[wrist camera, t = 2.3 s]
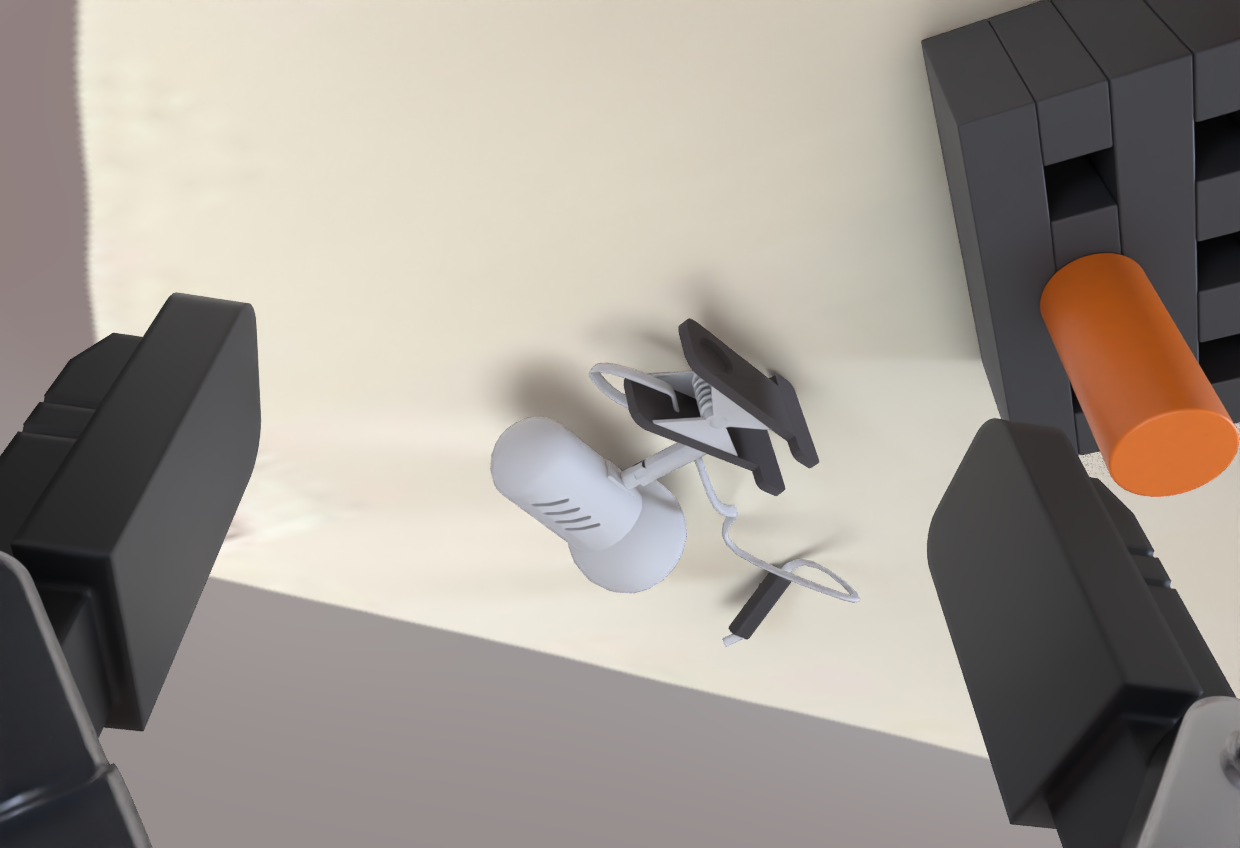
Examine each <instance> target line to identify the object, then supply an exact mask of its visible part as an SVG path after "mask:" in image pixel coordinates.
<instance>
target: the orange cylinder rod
mask: <svg viewBox="0 0 1240 848" xmlns="http://www.w3.org/2000/svg"><path fill="white" fill-rule="evenodd" d="M1040 311H1041V315H1042V317H1043V320H1044V322H1045V324H1046V327H1047V329H1048V331H1049V334H1050V336H1051V338H1052V341H1053V343H1054V345H1055V348H1056V350H1057V352H1058V355H1059V357H1060V359H1061V362H1062V364H1063V366H1064V369H1065V371H1066V373H1067V375H1068V378H1069V380H1070V382H1071V385H1072V387H1073V389H1074V392H1075V394H1076V396H1077V399H1078V401H1079V403H1080V406H1081V408H1082V410H1083V413H1084V415H1085V417H1086V420H1087V422H1088V424H1089V427H1090V429H1091V431H1092V434H1093V436H1094V438H1095V441H1096V443H1097V445H1098V447H1099V450H1100V452H1101V454H1102V457H1103V459H1104V461H1105V464H1106V466H1107V468H1108V471H1109V473H1110V475H1111V477H1112V479H1113V480H1114V481H1115V482H1116V483H1117V484H1118V485H1119V486H1121V487H1122V488H1123V489H1125V490H1127V491H1129V492H1131V493H1134V494H1138V495H1142V496H1150V497H1161V496H1171V495H1176V494H1181V493H1184V492H1188V491H1191V490H1193V489H1196V488H1198V487H1200V486H1202V485H1204V484H1206V483H1208V482H1209V481H1211V480H1213V479H1214V478H1216V477H1217V476H1218V475H1220V474H1221V473H1222V472H1223V471H1224V470H1225V469H1226V468H1227V467H1228V466H1229V465H1230V463H1231V462H1232V460H1233V459H1234V457H1235V455H1236V453H1237V450H1238V446H1239V433H1238V430H1237V428H1236V426H1235V424H1234V423H1233V421H1232V419H1231V417H1230V416H1229V414H1228V412H1227V411H1226V409H1225V407H1224V406H1223V404H1222V402H1221V401H1220V399H1219V397H1218V396H1217V394H1216V392H1215V390H1214V389H1213V387H1212V385H1211V384H1210V382H1209V380H1208V379H1207V377H1206V375H1205V374H1204V372H1203V370H1202V369H1201V367H1200V365H1199V363H1198V362H1197V360H1196V358H1195V357H1194V355H1193V353H1192V352H1191V350H1190V348H1189V347H1188V345H1187V343H1186V342H1185V340H1184V338H1183V336H1182V335H1181V333H1180V331H1179V330H1178V328H1177V326H1176V325H1175V323H1174V321H1173V320H1172V318H1171V316H1170V315H1169V313H1168V311H1167V309H1166V308H1165V306H1164V304H1163V303H1162V301H1161V299H1160V298H1159V296H1158V294H1157V293H1156V291H1155V289H1154V288H1153V286H1152V284H1151V282H1150V281H1149V279H1148V277H1147V276H1146V274H1145V272H1144V271H1143V269H1142V268H1141V266H1140V265H1139V264H1138V263H1136V262H1135V261H1134V260H1132V259H1130V258H1128V257H1126V256H1123V255H1120V254H1115V253H1097V254H1092V255H1087V256H1084V257H1081V258H1079V259H1076V260H1074V261H1072V262H1070V263H1069V264H1067V265H1066V266H1064V267H1063V268H1061V269H1060V270H1059V271H1058V272H1056V273H1055V274H1054V276H1053V277H1052V278H1051V279H1050V280H1049V281H1048V283H1047V285H1046V286H1045V288H1044V290H1043V293H1042V296H1041V300H1040Z"/></svg>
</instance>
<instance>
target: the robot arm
mask: <svg viewBox="0 0 1240 848" xmlns="http://www.w3.org/2000/svg"><path fill="white" fill-rule="evenodd" d="M44 396H45V398H44V402H39V403H38V405H37V406H36V407H35V409H34V410H33V411H32V413H31V414H30V416H29V417H28V418H27V420H26V421H25V423H24V424H23V425H24V427H23V431H22V432H17V434H16V435H15V436H14V438H13V439H12V441H11V442H10V443H9V445H8V446H7V447H6V449H5V450H4V452H3V453H2V454H1V456H0V848H152V845H151V842H150V840H149V838H148V835H147V833H146V831H145V828H144V826H143V823H142V821H141V818H140V816H139V814H138V811H137V809H136V807H135V804H134V802H133V799H132V797H131V795H130V792H129V790H128V788H127V786H126V784H125V782H124V779H123V777H122V775H121V773H120V772H119V770H118V768H117V766H116V765H115V764H111V765H110V764H109V762H108V760H107V758H106V756H105V753H104V751H103V749H102V746H101V744H100V742H99V739H98V738H99V736H100V734H101V732H102V729H103V727H106V728H115V729H126V730H135V731H144V729H145V726H146V724H147V721H148V719H149V717H150V714H151V712H152V709H153V707H154V705H155V703H156V700H157V698H158V695H159V693H160V691H161V688H162V685H163V684H164V681H165V679H166V676H167V674H168V672H169V669H170V667H171V665H172V662H173V660H174V657H175V655H176V653H177V650H178V647H179V645H180V643H181V641H182V638H183V636H184V634H185V631H186V629H187V627H188V624H189V622H190V619H191V617H192V614H193V612H194V610H195V608H196V605H197V602H198V600H199V598H200V596H201V593H202V591H203V588H204V586H205V584H206V581H207V579H208V577H209V574H210V572H211V570H212V567H213V565H214V562H215V560H216V558H217V555H218V553H219V551H220V548H221V546H222V543H223V541H224V539H225V536H226V534H227V532H228V529H229V527H230V524H231V522H232V520H233V517H234V515H235V513H236V510H237V508H238V505H239V503H240V501H241V498H242V496H243V494H244V491H245V489H246V486H247V484H248V482H249V479H250V477H251V474H252V471H253V468H254V465H255V461H256V457H257V452H258V446H259V439H260V429H261V410H260V389H259V369H258V349H257V329H256V317H255V312H254V309H253V307H252V305H251V304H249V303H242V302H236V301H229V300H223V299H216V298H209V297H203V296H196V295H190V294H183V293H173V294H172V295H171V296H170V297H169V298H168V299H167V301H166V302H165V304H164V305H163V307H162V308H161V310H160V311H159V313H158V314H157V316H156V318H155V319H154V321H153V322H152V324H151V325H150V327H149V328H148V330H147V331H146V333H145V335H144V336H143V337H139V336H132V335H125V334H119V333H112V334H110V335H109V336H107V337H106V338H104V339H102V340H101V341H99V342H98V343H96V344H94V345H93V346H91V347H90V348H88V349H86V350H85V351H83V352H82V353H80V354H78V355H77V356H75V357H74V358H72V359H70V360H69V362H68V363H67V364H66V366H65V367H64V369H63V370H62V371H61V373H60V374H59V375H58V377H57V378H56V380H55V381H54V382H53V384H52V385H51V387H50V388H49V389H48V391H47V392H46V394H45V395H44ZM1153 552H1154V549H1153V548H1152V546H1151V544H1150V542H1149V540H1148V539H1147V537H1146V535H1145V533H1144V531H1143V530H1142V528H1141V526H1140V524H1139V523H1138V521H1137V519H1136V517H1135V515H1134V514H1133V513H1132V512H1131V511H1130V510H1129V509H1128V508H1127V507H1126V506H1125V505H1124V504H1123V503H1122V502H1121V501H1120V500H1119V499H1118V498H1117V497H1116V496H1115V495H1114V494H1113V493H1112V492H1111V491H1110V490H1109V489H1108V488H1107V487H1106V486H1105V485H1104V484H1103V483H1102V482H1101V481H1100V480H1099V479H1098V478H1091V477H1089V475H1088V474H1087V472H1086V470H1085V468H1084V466H1083V464H1082V462H1081V460H1080V459H1079V457H1078V455H1077V453H1076V451H1075V449H1074V447H1073V445H1072V444H1071V442H1070V440H1069V438H1068V436H1067V435H1066V433H1065V432H1063V431H1062V430H1061V429H1059V428H1055V427H1049V426H1042V425H1036V424H1029V423H1022V422H1016V421H1009V420H1003V419H996V418H994V419H990V420H988V421H986V422H985V423H984V424H983V425H982V426H981V428H980V429H979V430H978V432H977V434H976V435H975V437H974V439H973V441H972V443H971V445H970V447H969V449H968V451H967V452H966V454H965V456H964V458H963V460H962V462H961V464H960V466H959V468H958V469H957V471H956V473H955V475H954V477H953V479H952V481H951V483H950V485H949V486H948V488H947V490H946V492H945V494H944V496H943V498H942V500H941V501H940V503H939V505H938V507H937V509H936V511H935V513H934V515H933V518H932V521H931V524H930V528H929V533H928V540H927V558H928V565H929V569H930V572H931V575H932V579H933V582H934V585H935V588H936V591H937V594H938V597H939V601H940V604H941V607H942V610H943V613H944V616H945V620H946V623H947V626H948V629H949V632H950V635H951V638H952V642H953V645H954V648H955V651H956V654H957V657H958V660H959V664H960V667H961V670H962V673H963V676H964V679H965V683H966V686H967V689H968V692H969V695H970V698H971V701H972V705H973V708H974V711H975V714H976V717H977V720H978V723H979V727H980V730H981V733H982V736H983V739H984V742H985V746H986V749H987V752H988V755H989V758H990V761H991V764H992V768H993V771H994V774H995V777H996V780H997V783H998V786H999V790H1000V793H1001V796H1002V799H1003V802H1004V805H1005V809H1006V812H1007V815H1008V818H1009V821H1010V824H1013V825H1023V826H1033V827H1042V828H1052V829H1057V832H1058V835H1059V838H1060V841H1061V843H1062V846H1063V848H1240V699H1239V698H1236V696H1235V694H1234V692H1233V691H1232V689H1231V687H1230V685H1229V683H1228V682H1227V680H1226V678H1225V676H1224V674H1223V673H1222V671H1221V669H1220V667H1219V666H1218V664H1217V662H1216V660H1215V658H1214V657H1213V655H1212V653H1211V651H1210V649H1209V648H1208V646H1207V644H1206V642H1205V641H1204V639H1203V637H1202V635H1201V633H1200V632H1199V630H1198V628H1197V626H1196V624H1195V623H1194V621H1193V619H1192V617H1191V615H1190V614H1189V612H1188V610H1187V608H1186V607H1185V605H1184V603H1183V601H1182V599H1181V598H1180V596H1179V594H1178V592H1177V590H1176V589H1171V588H1170V583H1171V580H1170V578H1169V576H1168V574H1167V573H1166V571H1165V569H1164V567H1163V565H1162V564H1161V562H1160V560H1159V558H1154V557H1153Z"/></svg>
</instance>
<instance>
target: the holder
mask: <svg viewBox="0 0 1240 848" xmlns="http://www.w3.org/2000/svg"><path fill="white" fill-rule="evenodd" d="M921 44H922V49H923V54H924V59H925V65H926V70H927V75H928V80H929V85H930V91H931V96H932V101H933V106H934V112H935V117H936V122H937V127H938V133H939V138H940V143H941V148H942V154H943V159H944V164H945V169H946V175H947V180H948V185H949V190H950V195H951V201H952V206H953V211H954V216H955V222H956V227H957V232H958V237H959V243H960V248H961V253H962V258H963V264H964V269H965V274H966V279H967V284H968V290H969V295H970V300H971V305H972V311H973V316H974V321H975V326H976V332H977V337H978V342H979V347H980V353H981V358H982V363H983V366H984V369H985V372H986V375H987V378H988V381H989V384H990V387H991V390H992V393H993V396H994V399H995V402H996V405H997V408H998V410H999V413H1000V416H1001V419H1003V420H1009V421H1016V422H1022V423H1029V424H1036V425H1042V426H1049V427H1055V428H1059V429H1061V430H1062V431H1063V432H1065V433H1066V435H1067V436H1068V438H1069V440H1070V442H1071V444H1072V445H1073V447H1074V449H1075V451H1076V453H1077V455H1079V454H1080V455H1085V454H1090V453H1094V452H1099V451H1100V450H1099V447H1098V445H1097V443H1096V441H1095V438H1094V436H1093V434H1092V431H1091V429H1090V427H1089V424H1088V422H1087V420H1086V417H1085V415H1084V413H1083V410H1082V408H1081V406H1080V403H1079V401H1078V399H1077V396H1076V394H1075V392H1074V389H1073V387H1072V385H1071V382H1070V380H1069V378H1068V375H1067V373H1066V371H1065V369H1064V366H1063V364H1062V362H1061V359H1060V357H1059V355H1058V352H1057V350H1056V348H1055V345H1054V343H1053V341H1052V338H1051V336H1050V334H1049V331H1048V329H1047V327H1046V324H1045V322H1044V320H1043V317H1042V315H1041V311H1040V300H1041V296H1042V293H1043V290H1044V288H1045V286H1046V285H1047V283H1048V281H1049V280H1050V279H1051V278H1052V277H1053V276H1054V274H1055V273H1056V272H1058V271H1059V270H1060V269H1061V268H1063V267H1064V266H1066V265H1067V264H1069V263H1070V262H1072V261H1074V260H1076V259H1079V258H1081V257H1084V256H1087V255H1092V254H1097V253H1115V254H1120V255H1123V256H1126V257H1128V258H1130V259H1132V260H1134V261H1135V262H1136V263H1138V264H1139V265H1140V266H1141V268H1142V269H1143V271H1144V272H1145V274H1146V276H1147V277H1148V279H1149V281H1150V282H1151V284H1152V286H1153V288H1154V289H1155V291H1156V293H1157V294H1158V296H1159V298H1160V299H1161V301H1162V303H1163V304H1164V306H1165V308H1166V309H1167V311H1168V313H1169V315H1170V316H1171V318H1172V320H1173V321H1174V323H1175V325H1176V326H1177V328H1178V330H1179V331H1180V333H1181V335H1182V336H1183V338H1184V340H1185V342H1186V343H1187V345H1188V347H1189V348H1190V350H1191V352H1192V353H1193V355H1194V357H1195V358H1196V360H1197V362H1198V363H1199V365H1200V367H1201V369H1202V370H1203V372H1204V374H1205V375H1206V377H1207V379H1208V380H1209V382H1210V384H1211V385H1212V387H1213V389H1214V390H1215V392H1216V394H1217V396H1218V397H1219V399H1220V401H1221V402H1222V404H1223V406H1224V407H1225V409H1226V411H1227V412H1228V414H1229V416H1230V417H1231V419H1232V421H1233V423H1239V422H1240V0H1043V1H1040V2H1037V3H1034V4H1031V5H1028V6H1025V7H1022V8H1019V9H1016V10H1013V11H1010V12H1007V13H1004V14H1001V15H998V16H995V17H992V18H990V19H989V20H987V19H985V20H982V21H979V22H976V23H973V24H970V25H967V26H964V27H961V28H958V29H955V30H952V31H949V32H946V33H943V34H940V35H937V36H934V37H931V38H928V39H925V40H922V42H921Z"/></svg>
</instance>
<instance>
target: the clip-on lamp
mask: <svg viewBox="0 0 1240 848" xmlns="http://www.w3.org/2000/svg"><path fill="white" fill-rule="evenodd" d="M679 335H680V339H681V343H682V346H683V350H684V354H685V358H686V360H687V362H688V364H689V366H690V367H691V369H692V370H693V371H685V372H667V373H649V374H646V373H643V372H640V371H638V370H635V369H632V368H629V367H625V366H621V365H617V364H611V363H599V364H596V365H595V366H594V367H593V368H591V370H590V371H589V376H590V378H591V380H592V381H593V382H594V384H595V385H596V386H597V387H598V388H599V389H600V390H601V391H602V392H603V393H604V394H606V395H607V396H608V397H609V398H611V399H612V400H613V401H615V402H616V403H618V404H620V405H622V406H624V407H626V408H628V409H629V412H630V414H631V417H632V418H633V420H634V421H635V422H636V423H637V424H638V425H639V426H640V427H642V428H643V429H645V430H647V431H650V432H652V433H655V434H658V435H660V436H663V437H665V438H668V439H670V440H673V441H676V442H677V443H675V444H673V445H672V446H670V447H668V448H666V449H664V450H662V451H660V452H658V453H656V454H654V455H652V456H650V457H648V458H647V459H645V460H643V461H641V462H639V463H637V464H635V465H633V466H631V467H629V468H628V469H626V470H624V471H622V470H620V469H619V468H618V467H617V466H616V465H614V464H613V463H612V462H611V461H610V460H609V459H608V460H605V459H604V458H602V457H601V456H600V455H599V454H597V453H596V452H595V451H594V450H593V449H591V448H590V447H589V446H588V445H586V444H585V443H584V442H583V441H581V440H580V439H579V438H578V437H577V436H575V435H574V434H573V433H572V432H570V431H569V430H568V429H567V428H566V427H564V426H563V425H562V424H561V423H559V422H558V421H555V420H553V419H550V418H547V417H544V416H542V417H529V418H526V419H523V420H520V421H518V422H516V423H514V424H513V425H512V426H510V427H509V428H507V429H506V430H505V431H504V432H503V434H502V435H501V436H500V437H499V439H498V441H497V442H496V444H495V446H494V449H493V452H492V455H491V474H492V478H493V481H494V484H495V487H496V489H497V490H498V491H499V492H500V493H501V494H502V495H504V496H505V497H506V498H508V499H509V500H511V501H512V502H513V503H515V504H516V505H517V506H519V507H520V508H521V509H523V510H524V511H525V512H527V513H528V514H530V515H531V516H532V517H534V518H535V519H536V520H538V521H539V522H540V523H542V524H543V525H545V526H546V527H547V528H549V529H550V530H551V531H553V532H554V533H555V534H557V535H558V536H559V537H561V538H562V539H564V540H565V541H566V542H568V545H569V549H570V552H571V555H572V558H573V560H574V562H575V564H576V565H577V567H578V568H579V569H580V570H581V571H582V573H583V574H584V575H585V576H586V577H587V578H588V579H589V580H590V581H591V582H593V583H595V584H597V585H599V586H601V587H603V588H605V589H607V590H609V591H613V592H620V593H636V592H640V591H643V590H647V589H650V588H651V587H653V586H654V585H656V584H658V583H659V582H661V581H662V580H664V578H665V577H666V576H667V575H668V574H669V573H670V572H671V571H672V570H673V569H674V568H675V566H676V564H677V562H678V560H679V559H680V557H681V555H682V553H683V550H684V546H685V542H686V537H687V533H686V520H685V516H684V514H683V512H682V509H681V507H680V505H679V503H678V501H677V499H676V498H675V497H674V495H673V494H672V493H671V492H670V491H669V490H667V489H666V488H665V487H664V486H663V485H662V484H661V483H659V482H658V481H656V480H657V479H659V478H661V477H663V476H665V475H667V474H668V473H670V472H672V471H674V470H676V469H678V468H680V467H682V466H684V465H686V464H688V463H690V462H692V461H695V464H696V466H697V469H698V472H699V475H700V477H701V480H702V483H703V486H704V488H705V491H706V494H707V496H708V498H709V500H710V502H711V504H712V506H713V508H714V509H715V510H716V511H717V512H718V513H719V514H721V515H724V516H726V518H725V520H724V523H723V527H722V536H723V539H724V541H725V543H726V545H727V546H728V547H729V548H730V549H731V550H732V551H733V552H734V553H735V554H737V555H739V556H740V557H742V558H744V559H745V560H747V561H749V562H751V563H752V564H754V565H756V566H759V567H761V568H763V569H765V570H767V571H769V573H768V575H767V576H766V577H765V579H764V580H763V581H762V583H760V584H759V586H758V588H757V589H756V591H755V592H754V593H753V595H752V596H751V598H750V599H749V600H748V602H747V603H746V604H745V605H744V607H743V608H742V610H741V611H740V612H739V614H738V615H737V616H736V618H735V619H734V620H733V622H732V623H731V625H730V626H729V630H730V631H731V632H732V633H733V634H731V635H729V636H727V637H725V638H723V639H722V640H723V643H724V644H725V646H726V647H727V646H730V645H732V644H734V643H736V642H738V641H740V640H742V639H743V638H744V639H749V638H750V637H751V635H752V634H753V633H754V631H755V630H756V629H757V627H758V626H759V625H760V623H761V622H762V621H763V619H764V618H765V617H766V615H767V614H768V613H769V611H770V610H771V609H772V607H773V606H774V605H775V603H776V602H777V601H778V599H779V598H780V597H781V595H782V594H783V593H784V591H785V590H786V588H787V587H788V586H789V584H790V583H791V581H793V582H795V583H798V584H800V585H803V586H805V587H808V588H811V589H813V590H816V591H818V592H821V593H824V594H827V595H829V596H832V597H835V598H838V599H841V600H844V601H848V602H852V603H855V602H859V601H860V598H859V596H858V594H857V592H856V591H855V590H854V589H853V588H852V587H851V586H850V585H848V584H847V583H846V582H845V581H844V580H842V579H841V578H840V577H838V576H837V575H836V574H834V573H833V572H832V571H830V570H828V569H827V568H825V567H823V566H821V565H819V564H817V563H815V562H813V561H809V560H804V559H796V560H793V561H791V562H788V563H786V564H785V565H784V566H783V567H782V568H781V569H779V568H777V567H775V566H772V565H770V564H768V563H766V562H764V561H762V560H759V559H757V558H755V557H754V556H752V555H750V554H748V553H747V552H745V551H743V550H742V549H740V548H739V547H737V546H736V545H735V544H734V543H733V542H732V541H731V540H730V539H729V536H728V530H729V528H730V526H731V525H732V523H733V522H734V521H735V519H736V518H737V516H738V513H737V508H736V507H735V506H734V505H725V504H723V503H722V502H721V501H720V500H719V499H718V498H717V496H716V494H715V492H714V490H713V488H712V485H711V482H710V480H709V477H708V474H707V471H706V468H705V465H704V462H703V460H702V456H704V455H706V454H709V455H712V456H714V457H717V458H719V459H722V460H725V461H727V462H730V463H732V464H735V465H738V466H740V467H743V468H745V469H748V470H750V471H752V472H753V475H754V479H755V482H756V484H757V486H758V487H759V488H760V489H761V490H763V491H765V492H767V493H769V494H772V495H774V496H777V495H779V494H780V493H781V492H783V491H784V490H785V485H784V482H783V479H782V476H781V472H780V469H779V466H778V463H777V460H776V456H775V453H774V450H773V447H772V444H771V441H770V437H769V434H768V431H767V430H772V431H774V432H775V433H777V434H778V435H779V436H781V437H782V438H783V439H785V440H786V441H788V445H789V448H790V451H791V453H792V455H793V457H794V458H795V459H796V460H797V461H798V462H800V463H801V464H803V465H804V466H806V467H808V468H812V467H813V466H815V465H816V464H818V463H819V458H818V456H817V453H816V450H815V447H814V444H813V441H812V438H811V436H810V433H809V430H808V427H807V424H806V421H805V418H804V416H803V413H802V410H801V407H800V404H799V401H798V398H797V395H796V393H795V390H794V388H793V386H792V385H791V384H790V383H789V382H788V381H787V380H786V379H784V378H783V377H781V376H780V375H778V374H775V375H774V376H772V377H771V378H767V377H766V376H765V375H764V374H762V373H761V372H760V371H758V370H757V369H756V368H755V367H753V366H752V365H751V364H750V363H748V362H747V361H746V360H744V359H743V358H742V357H741V356H739V355H738V354H737V353H735V352H734V351H733V350H732V349H730V348H729V347H728V346H727V345H725V344H724V343H723V342H721V341H720V340H719V339H718V338H716V337H715V336H714V335H713V334H711V333H710V332H709V331H707V330H706V329H705V328H704V327H702V326H701V325H700V324H699V323H697V322H696V321H694V320H692V319H690V318H689V319H687V320H686V321H684V322H683V323H682V324H681V325H679ZM600 372H601V373H607V374H612V375H616V376H620V377H623V378H625V379H624V389H625V394H626V395H625V394H623V393H621V392H620V391H618V390H617V389H615V388H614V387H613V386H612V385H611V384H609V383H608V382H607V381H606V380H605V378H604V377H603V376H602V375H601V373H600ZM802 566H809V567H814V568H818V569H819V570H821V571H823V572H825V573H827V574H828V575H830V576H831V577H832V578H833V579H835V580H836V581H837V582H838V583H840V584H841V585H842V586H843V587H844V588H845V589H846V590H847V591H848V592H849V594H850V595H849V594H845V593H841V592H839V591H836V590H833V589H830V588H827V587H825V586H822V585H819V584H817V583H814V582H812V581H809V580H806V579H804V578H801V577H799V576H796V575H794V574H791V572H792V570H793V569H796V568H799V567H802Z"/></svg>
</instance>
